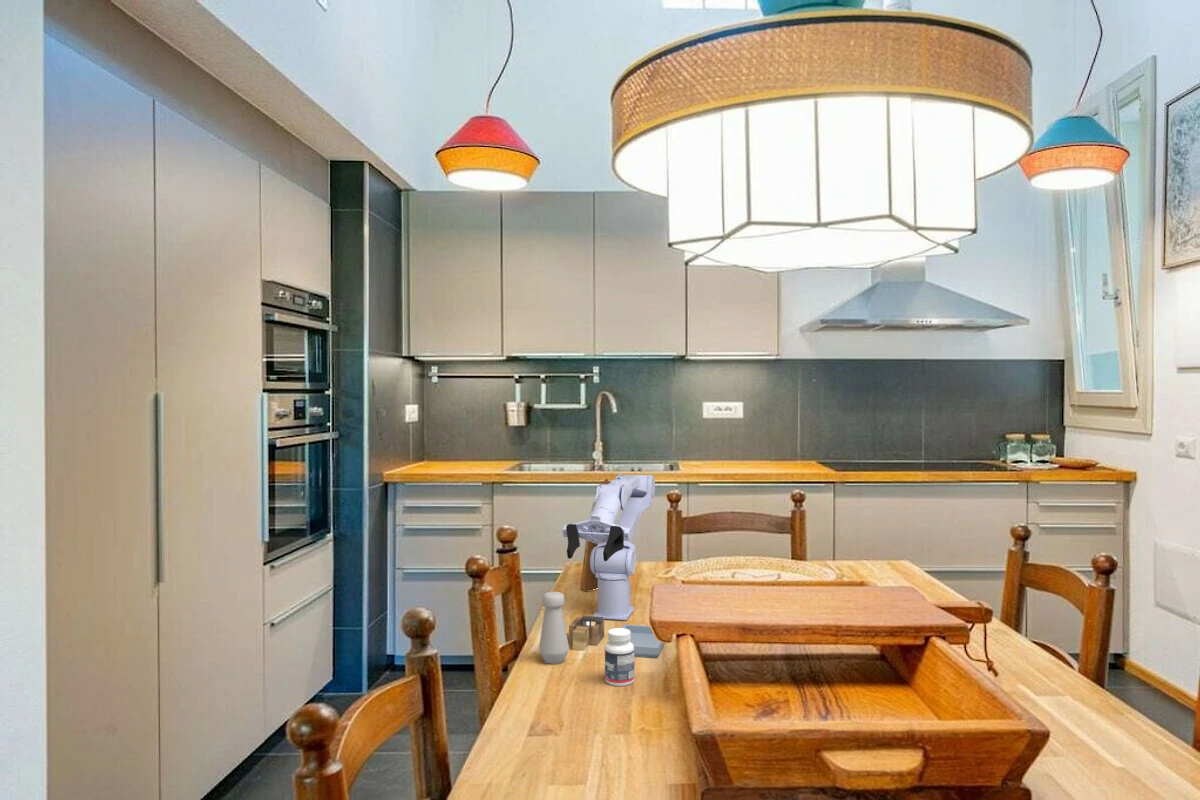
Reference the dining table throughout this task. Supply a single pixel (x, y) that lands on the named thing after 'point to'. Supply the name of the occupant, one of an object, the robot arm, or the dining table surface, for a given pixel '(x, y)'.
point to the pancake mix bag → (587, 575)
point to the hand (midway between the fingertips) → (586, 555)
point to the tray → (644, 641)
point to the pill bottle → (619, 658)
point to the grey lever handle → (591, 620)
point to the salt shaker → (553, 629)
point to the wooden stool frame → (585, 634)
